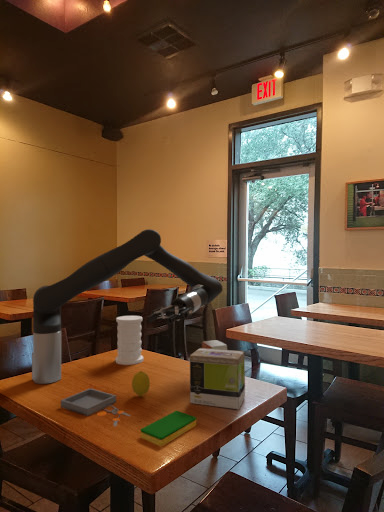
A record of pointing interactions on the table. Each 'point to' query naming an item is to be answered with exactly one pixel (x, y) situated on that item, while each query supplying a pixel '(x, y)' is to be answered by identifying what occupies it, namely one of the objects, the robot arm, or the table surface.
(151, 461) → the table surface
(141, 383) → the lemon
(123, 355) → the decorative container
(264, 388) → the table surface
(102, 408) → the key chain
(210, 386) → the tea box
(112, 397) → the tray
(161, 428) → the dish sponge
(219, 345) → the small box
